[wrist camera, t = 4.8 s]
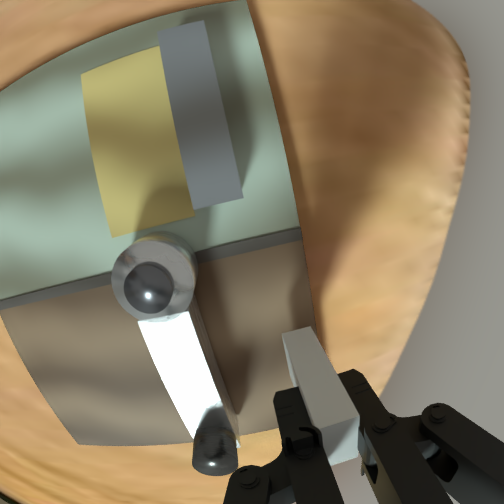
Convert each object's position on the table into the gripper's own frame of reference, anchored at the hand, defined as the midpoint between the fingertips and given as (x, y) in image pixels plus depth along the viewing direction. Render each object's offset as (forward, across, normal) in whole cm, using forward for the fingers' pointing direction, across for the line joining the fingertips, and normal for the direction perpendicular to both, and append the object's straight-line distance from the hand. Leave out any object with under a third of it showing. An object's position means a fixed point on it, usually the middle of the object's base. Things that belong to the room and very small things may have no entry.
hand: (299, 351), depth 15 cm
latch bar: (+1, -6, +1) cm, 6 cm away
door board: (+3, -9, +6) cm, 11 cm away
